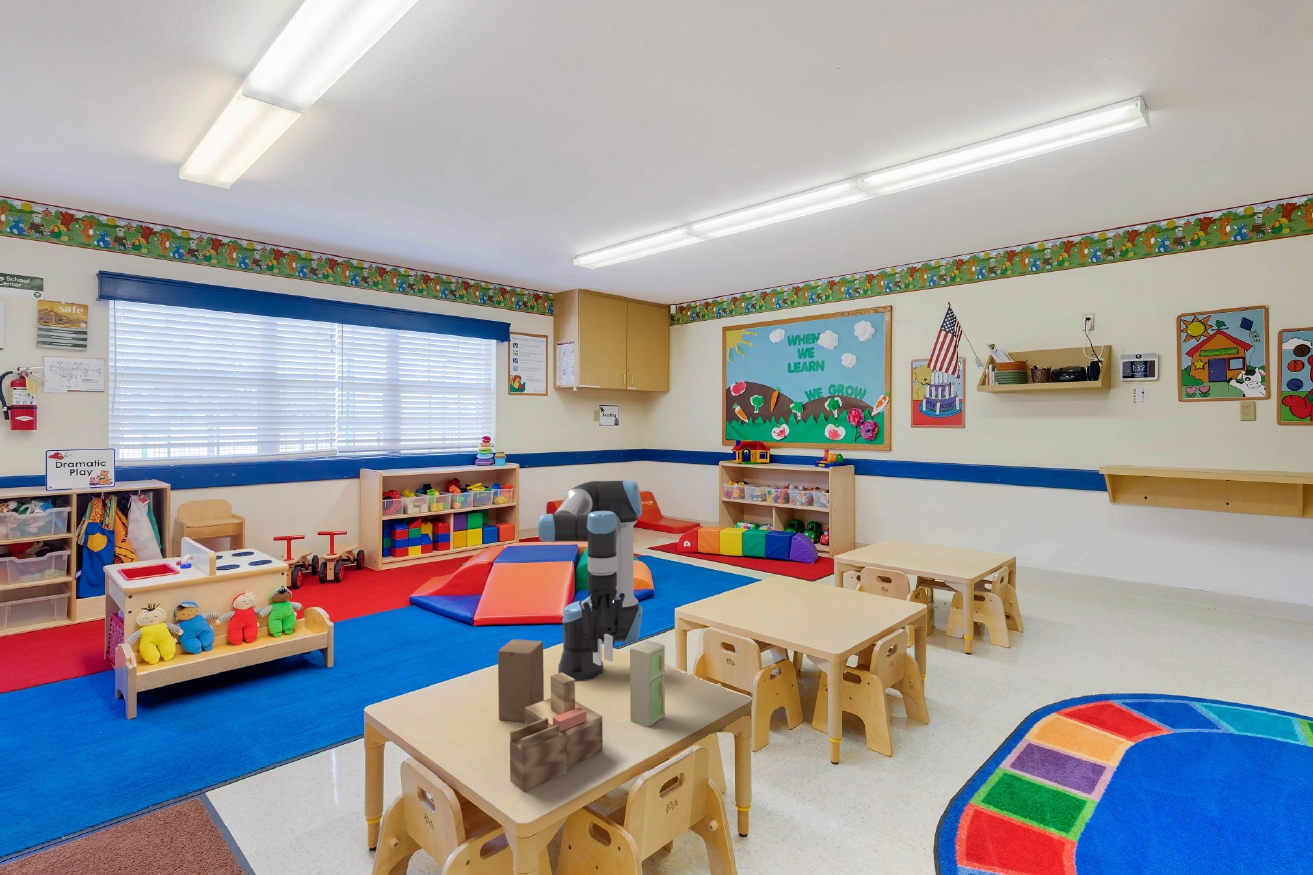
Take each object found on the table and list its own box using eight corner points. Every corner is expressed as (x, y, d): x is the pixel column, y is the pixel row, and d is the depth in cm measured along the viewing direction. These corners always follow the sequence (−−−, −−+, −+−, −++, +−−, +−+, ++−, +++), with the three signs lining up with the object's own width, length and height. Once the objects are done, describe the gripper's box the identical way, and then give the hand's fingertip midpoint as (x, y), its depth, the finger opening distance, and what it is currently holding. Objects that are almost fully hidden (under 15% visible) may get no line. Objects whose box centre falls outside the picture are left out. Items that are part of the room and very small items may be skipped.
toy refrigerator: (650, 728, 174) (649, 653, 173) (629, 720, 178) (629, 647, 178) (667, 717, 180) (667, 644, 179) (647, 710, 184) (646, 639, 184)
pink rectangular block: (579, 716, 160) (579, 707, 160) (586, 720, 158) (586, 711, 158) (552, 727, 155) (552, 717, 155) (559, 731, 153) (559, 721, 153)
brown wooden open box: (563, 726, 175) (562, 684, 175) (606, 753, 161) (605, 707, 160) (483, 758, 159) (482, 711, 159) (523, 791, 145) (522, 740, 144)
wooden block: (531, 723, 177) (530, 652, 177) (498, 720, 179) (497, 650, 179) (544, 707, 187) (543, 640, 186) (513, 704, 189) (512, 638, 188)
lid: (562, 698, 175) (562, 661, 175) (602, 720, 162) (602, 681, 161) (524, 711, 167) (524, 673, 167) (563, 736, 154) (562, 695, 153)
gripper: (617, 564, 171) (618, 650, 171) (568, 574, 160) (569, 665, 161) (635, 569, 165) (635, 657, 166) (585, 579, 154) (586, 674, 155)
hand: (603, 661), depth 163 cm, fingers open, 3 cm apart
